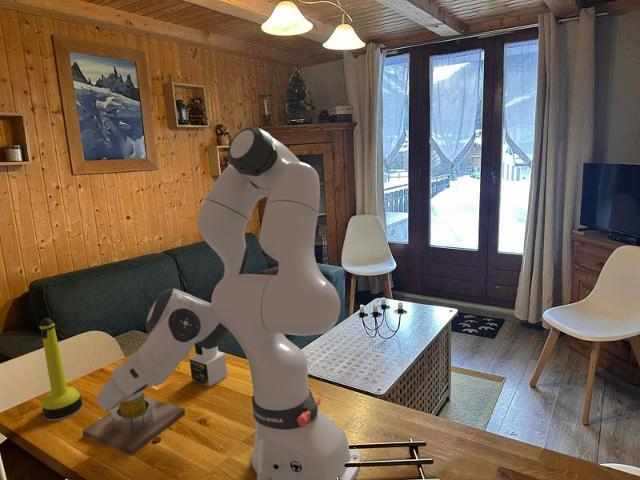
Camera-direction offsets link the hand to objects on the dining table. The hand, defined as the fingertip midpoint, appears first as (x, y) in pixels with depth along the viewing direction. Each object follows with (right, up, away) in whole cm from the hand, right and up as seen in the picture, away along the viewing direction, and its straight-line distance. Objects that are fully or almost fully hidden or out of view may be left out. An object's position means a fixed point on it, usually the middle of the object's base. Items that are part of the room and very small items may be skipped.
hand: (129, 394), depth 106 cm
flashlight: (-21, -7, +9) cm, 24 cm away
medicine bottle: (+14, -3, +21) cm, 25 cm away
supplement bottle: (+1, -6, +1) cm, 7 cm away
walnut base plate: (+1, -8, +1) cm, 8 cm away
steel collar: (+1, -6, +1) cm, 6 cm away
